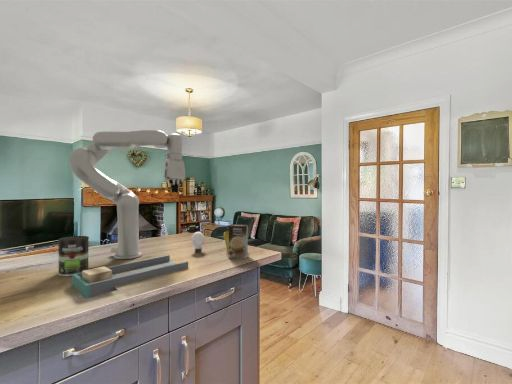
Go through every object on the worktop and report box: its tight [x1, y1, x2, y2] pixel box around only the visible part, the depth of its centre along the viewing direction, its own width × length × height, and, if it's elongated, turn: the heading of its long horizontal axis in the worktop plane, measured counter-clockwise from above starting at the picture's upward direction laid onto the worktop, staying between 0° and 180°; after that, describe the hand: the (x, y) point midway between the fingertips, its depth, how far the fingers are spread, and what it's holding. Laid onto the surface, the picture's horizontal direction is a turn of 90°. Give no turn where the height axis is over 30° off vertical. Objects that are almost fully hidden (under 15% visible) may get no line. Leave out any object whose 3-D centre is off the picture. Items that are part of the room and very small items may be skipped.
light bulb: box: [191, 231, 205, 254], centre depth 143 cm, size 7×7×11 cm
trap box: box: [71, 254, 189, 299], centre depth 103 cm, size 37×16×4 cm, turn 137°
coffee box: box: [227, 223, 249, 260], centre depth 133 cm, size 9×6×16 cm
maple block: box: [82, 266, 112, 284], centre depth 92 cm, size 7×7×4 cm
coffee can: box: [57, 235, 90, 277], centre depth 109 cm, size 10×10×14 cm
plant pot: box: [223, 231, 229, 252], centre depth 148 cm, size 10×10×10 cm
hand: (174, 192), depth 142 cm, fingers closed
